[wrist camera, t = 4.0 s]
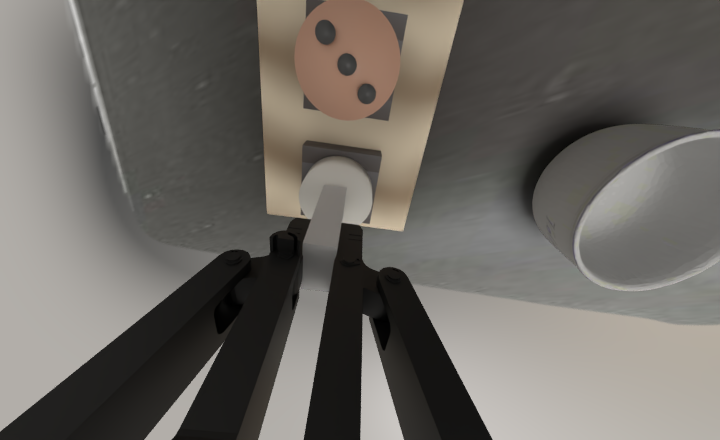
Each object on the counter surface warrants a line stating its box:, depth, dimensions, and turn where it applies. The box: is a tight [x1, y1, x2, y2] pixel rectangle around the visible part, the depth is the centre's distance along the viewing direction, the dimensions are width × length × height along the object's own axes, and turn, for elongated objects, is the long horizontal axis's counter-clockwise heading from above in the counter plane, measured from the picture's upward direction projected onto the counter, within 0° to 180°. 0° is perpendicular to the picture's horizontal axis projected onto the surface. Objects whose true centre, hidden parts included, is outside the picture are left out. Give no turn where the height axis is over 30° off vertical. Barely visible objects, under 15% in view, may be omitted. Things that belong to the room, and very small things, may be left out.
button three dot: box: [294, 0, 400, 121], centre depth 14 cm, size 5×5×4 cm
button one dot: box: [299, 156, 372, 225], centre depth 19 cm, size 5×5×4 cm
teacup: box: [532, 124, 720, 291], centre depth 19 cm, size 14×11×8 cm
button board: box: [257, 0, 464, 231], centre depth 17 cm, size 24×12×4 cm, turn 172°
